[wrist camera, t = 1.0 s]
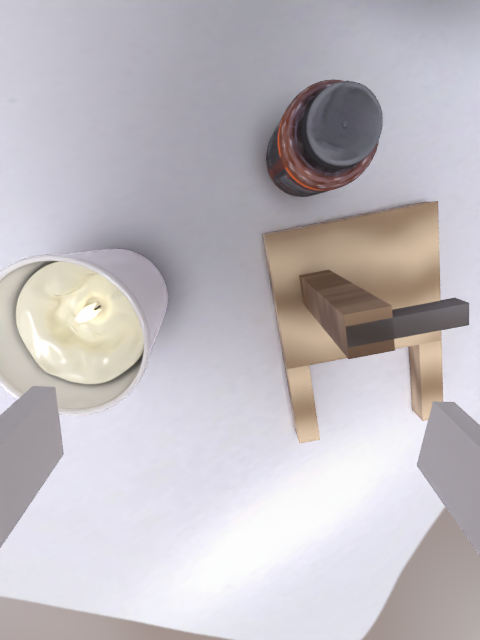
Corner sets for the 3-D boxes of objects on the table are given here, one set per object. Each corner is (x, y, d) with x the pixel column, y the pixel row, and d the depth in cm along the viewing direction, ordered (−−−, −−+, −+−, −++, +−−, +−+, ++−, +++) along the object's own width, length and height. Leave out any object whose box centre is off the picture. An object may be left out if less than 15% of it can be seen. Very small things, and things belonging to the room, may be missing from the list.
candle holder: (126, 215, 30) (62, 216, 18) (199, 305, 32) (183, 356, 21) (42, 284, 31) (-66, 326, 20) (118, 366, 34) (61, 445, 22)
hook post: (299, 275, 30) (343, 314, 18) (375, 260, 30) (469, 290, 18) (303, 303, 30) (348, 359, 19) (377, 289, 30) (469, 336, 19)
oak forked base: (262, 234, 31) (265, 235, 29) (424, 202, 30) (437, 201, 28) (295, 431, 36) (299, 443, 35) (432, 406, 36) (443, 417, 34)
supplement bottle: (335, 196, 30) (396, 187, 19) (264, 197, 30) (285, 189, 19) (340, 116, 28) (409, 57, 17) (265, 117, 28) (288, 58, 17)
